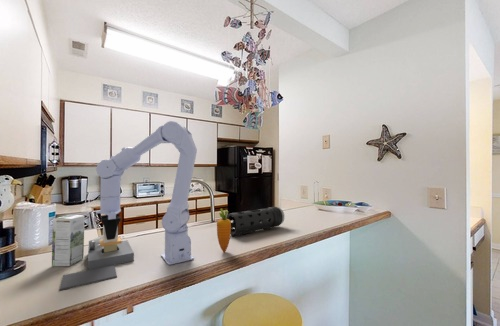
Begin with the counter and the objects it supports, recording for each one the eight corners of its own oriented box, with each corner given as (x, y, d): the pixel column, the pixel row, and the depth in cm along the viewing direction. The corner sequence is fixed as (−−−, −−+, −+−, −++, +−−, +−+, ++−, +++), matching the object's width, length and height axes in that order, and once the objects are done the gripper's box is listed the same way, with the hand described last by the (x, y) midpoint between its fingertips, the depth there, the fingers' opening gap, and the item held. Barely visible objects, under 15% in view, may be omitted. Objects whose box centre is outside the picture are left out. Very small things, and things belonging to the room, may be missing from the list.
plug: (121, 250, 76) (121, 225, 77) (99, 254, 73) (100, 227, 73) (119, 245, 81) (119, 221, 82) (99, 249, 78) (99, 224, 78)
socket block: (133, 260, 74) (133, 252, 74) (87, 270, 67) (87, 261, 67) (127, 246, 87) (127, 240, 87) (88, 253, 80) (88, 246, 80)
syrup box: (66, 259, 76) (67, 214, 76) (84, 259, 76) (84, 214, 76) (51, 266, 70) (51, 218, 70) (70, 266, 70) (70, 218, 70)
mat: (116, 277, 63) (116, 275, 63) (59, 290, 56) (59, 289, 56) (114, 265, 70) (114, 264, 70) (63, 276, 63) (63, 275, 63)
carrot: (232, 253, 79) (232, 209, 80) (218, 255, 78) (217, 210, 78) (229, 249, 84) (229, 207, 84) (215, 250, 83) (215, 208, 83)
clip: (118, 236, 91) (118, 229, 91) (92, 250, 76) (93, 241, 76) (113, 237, 91) (113, 229, 91) (87, 250, 76) (87, 241, 76)
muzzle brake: (225, 234, 103) (225, 211, 103) (272, 225, 120) (272, 205, 120) (236, 239, 95) (236, 214, 96) (285, 229, 112) (285, 207, 112)
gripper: (95, 195, 81) (95, 234, 81) (96, 199, 69) (96, 245, 69) (118, 194, 85) (118, 231, 85) (123, 197, 73) (123, 241, 73)
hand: (110, 237), depth 77 cm, fingers closed on plug, 4 cm apart
